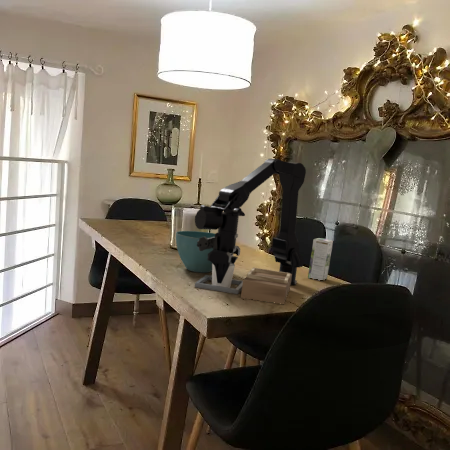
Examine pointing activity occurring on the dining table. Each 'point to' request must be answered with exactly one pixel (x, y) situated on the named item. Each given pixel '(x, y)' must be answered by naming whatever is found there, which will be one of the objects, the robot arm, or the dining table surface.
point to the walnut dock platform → (266, 285)
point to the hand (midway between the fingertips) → (221, 281)
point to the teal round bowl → (193, 250)
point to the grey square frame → (219, 288)
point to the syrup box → (320, 259)
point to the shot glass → (227, 278)
